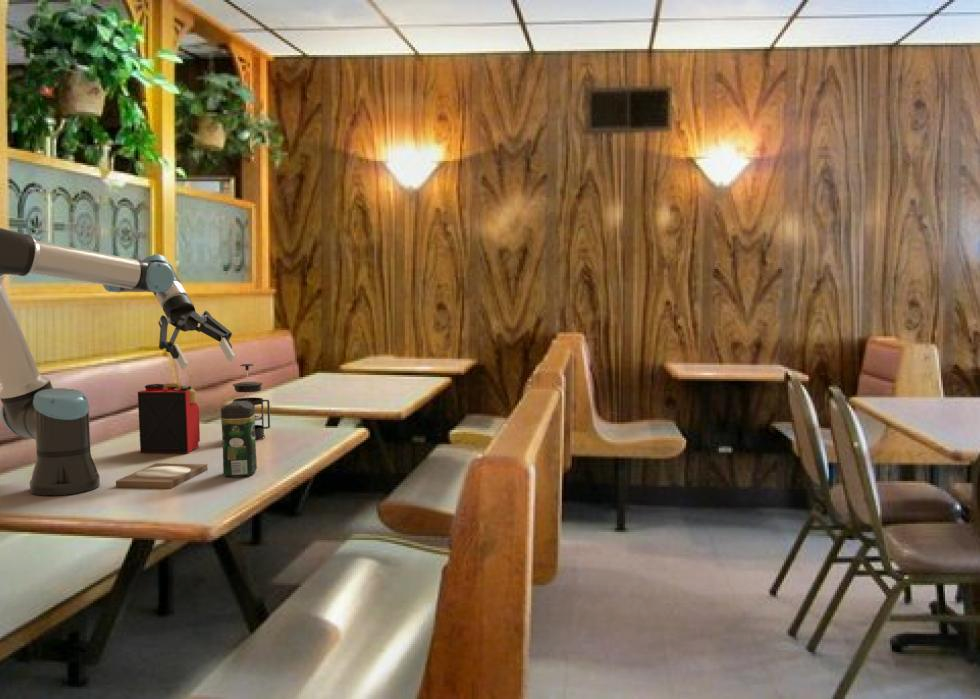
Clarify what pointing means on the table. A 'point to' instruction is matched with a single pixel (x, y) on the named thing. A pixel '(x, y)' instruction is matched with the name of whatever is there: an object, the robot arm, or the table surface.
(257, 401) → the french press
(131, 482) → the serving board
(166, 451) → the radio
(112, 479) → the table surface
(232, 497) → the table surface
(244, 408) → the coffee jar
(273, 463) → the table surface
